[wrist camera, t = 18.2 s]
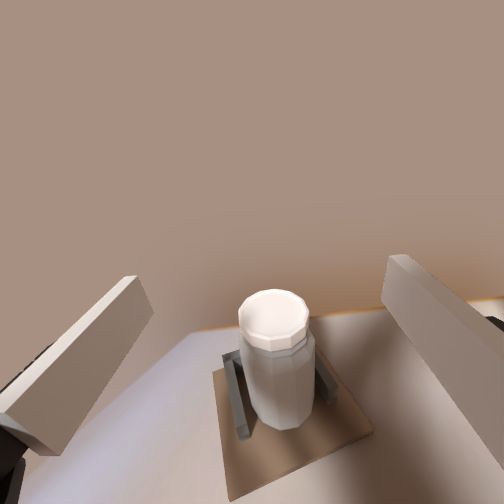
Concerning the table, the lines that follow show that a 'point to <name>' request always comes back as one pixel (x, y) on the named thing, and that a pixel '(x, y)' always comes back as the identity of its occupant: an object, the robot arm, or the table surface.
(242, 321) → the jar
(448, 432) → the table surface
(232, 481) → the mounting board
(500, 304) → the table surface
